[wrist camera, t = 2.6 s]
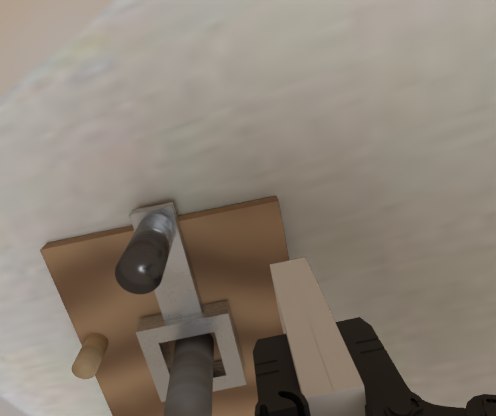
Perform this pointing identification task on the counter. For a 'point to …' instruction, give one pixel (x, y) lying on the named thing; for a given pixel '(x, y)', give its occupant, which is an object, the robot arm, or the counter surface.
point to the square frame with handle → (174, 299)
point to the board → (142, 305)
